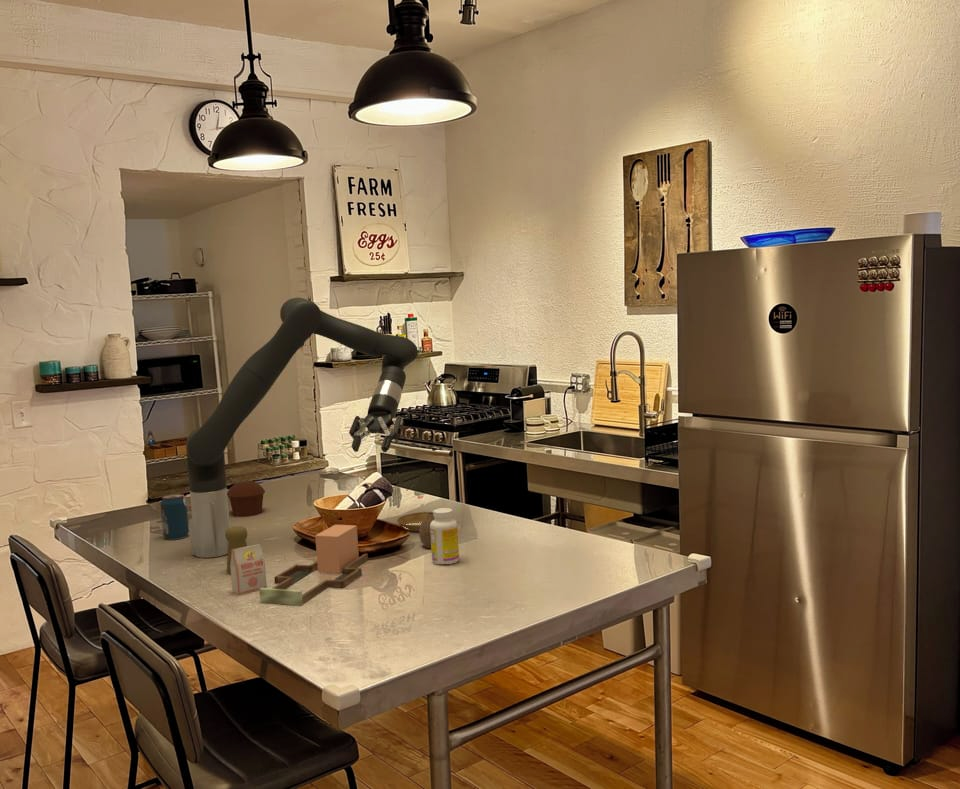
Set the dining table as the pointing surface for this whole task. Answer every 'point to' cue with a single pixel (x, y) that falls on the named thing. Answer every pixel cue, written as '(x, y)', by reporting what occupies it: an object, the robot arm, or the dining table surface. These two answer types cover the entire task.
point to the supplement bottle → (444, 537)
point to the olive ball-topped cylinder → (235, 541)
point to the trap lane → (296, 597)
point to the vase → (426, 530)
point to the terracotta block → (336, 548)
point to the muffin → (246, 498)
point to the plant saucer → (412, 520)
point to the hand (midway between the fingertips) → (369, 450)
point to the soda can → (174, 516)
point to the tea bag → (248, 569)
